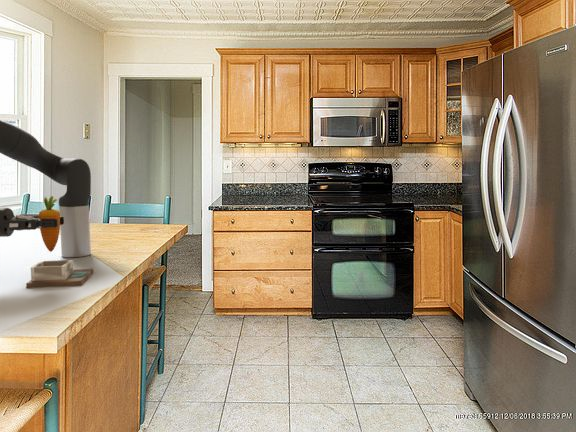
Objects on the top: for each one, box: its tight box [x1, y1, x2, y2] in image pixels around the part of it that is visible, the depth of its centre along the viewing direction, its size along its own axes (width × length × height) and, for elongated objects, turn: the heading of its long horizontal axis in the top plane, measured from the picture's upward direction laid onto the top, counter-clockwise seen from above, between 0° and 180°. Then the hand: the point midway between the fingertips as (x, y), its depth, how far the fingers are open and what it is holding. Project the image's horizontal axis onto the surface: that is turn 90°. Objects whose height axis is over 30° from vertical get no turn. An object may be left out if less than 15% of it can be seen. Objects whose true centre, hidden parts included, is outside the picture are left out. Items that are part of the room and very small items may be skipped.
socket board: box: [25, 259, 94, 289], centre depth 123 cm, size 14×13×5 cm
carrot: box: [38, 195, 60, 253], centre depth 120 cm, size 5×5×15 cm
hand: (60, 221), depth 121 cm, fingers closed on carrot, 4 cm apart
